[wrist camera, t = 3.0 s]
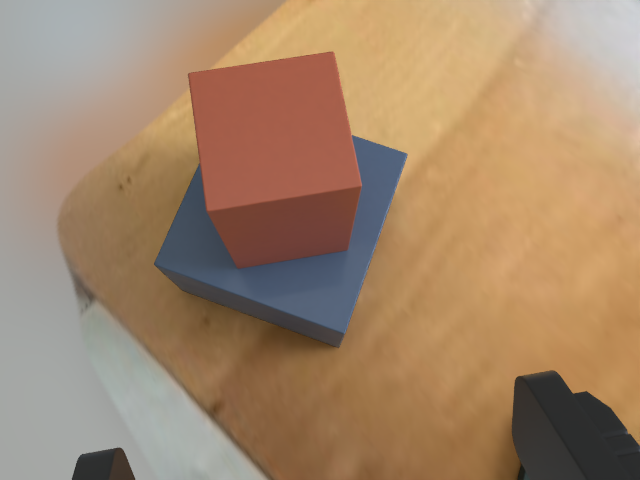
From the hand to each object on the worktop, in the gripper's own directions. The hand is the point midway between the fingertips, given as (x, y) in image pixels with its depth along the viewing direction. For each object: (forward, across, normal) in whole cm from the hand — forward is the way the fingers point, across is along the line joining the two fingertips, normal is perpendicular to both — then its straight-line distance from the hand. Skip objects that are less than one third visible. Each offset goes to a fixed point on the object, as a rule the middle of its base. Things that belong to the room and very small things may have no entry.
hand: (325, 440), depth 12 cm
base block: (+20, 0, +7) cm, 21 cm away
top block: (+16, 0, +2) cm, 16 cm away
